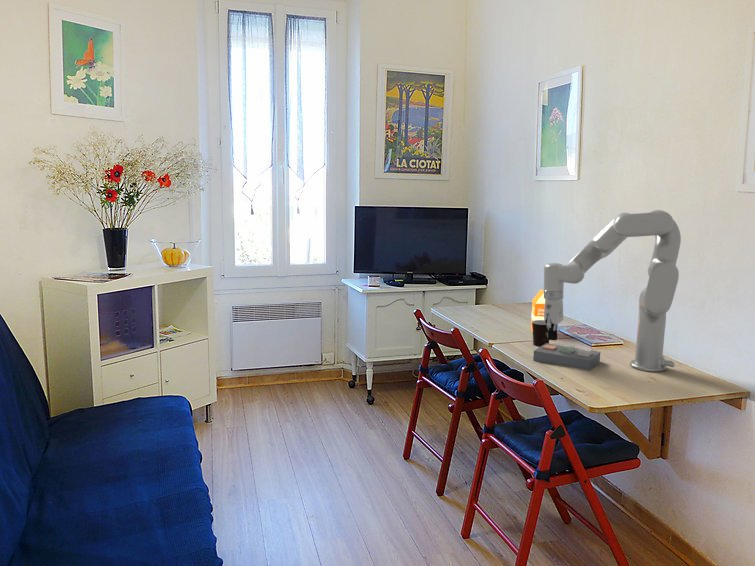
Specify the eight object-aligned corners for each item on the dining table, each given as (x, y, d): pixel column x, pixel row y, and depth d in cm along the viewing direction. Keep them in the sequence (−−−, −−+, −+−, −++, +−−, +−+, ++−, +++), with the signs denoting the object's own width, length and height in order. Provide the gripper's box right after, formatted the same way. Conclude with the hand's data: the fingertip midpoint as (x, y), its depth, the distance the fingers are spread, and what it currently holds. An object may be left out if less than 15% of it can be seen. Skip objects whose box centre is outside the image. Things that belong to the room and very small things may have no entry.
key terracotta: (556, 353, 246) (557, 346, 246) (552, 356, 243) (553, 348, 242) (545, 352, 249) (546, 344, 248) (542, 354, 245) (542, 346, 245)
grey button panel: (599, 361, 242) (600, 352, 241) (589, 370, 230) (590, 360, 230) (545, 352, 254) (546, 343, 253) (533, 360, 243) (533, 350, 242)
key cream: (592, 356, 238) (592, 349, 238) (588, 359, 235) (589, 351, 234) (580, 355, 241) (581, 347, 240) (577, 357, 237) (577, 349, 237)
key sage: (574, 353, 242) (574, 346, 242) (570, 356, 239) (571, 348, 238) (563, 352, 245) (563, 344, 244) (559, 354, 241) (560, 346, 241)
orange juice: (547, 330, 292) (549, 289, 288) (550, 334, 283) (552, 292, 280) (530, 329, 293) (532, 288, 289) (533, 334, 284) (535, 292, 281)
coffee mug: (537, 347, 261) (538, 325, 259) (527, 342, 269) (528, 320, 267) (561, 346, 264) (562, 323, 262) (550, 341, 272) (551, 319, 271)
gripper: (556, 298, 234) (555, 345, 236) (568, 292, 246) (567, 336, 249) (537, 297, 238) (536, 342, 241) (550, 291, 250) (549, 334, 253)
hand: (552, 339), depth 245 cm, fingers closed
